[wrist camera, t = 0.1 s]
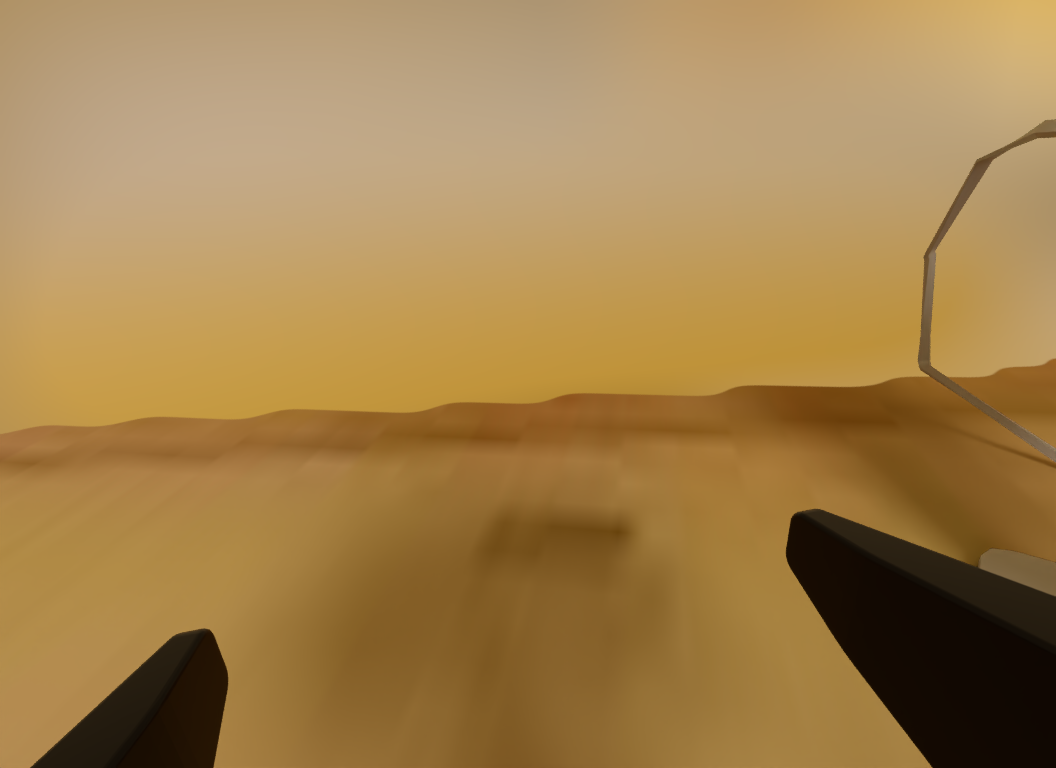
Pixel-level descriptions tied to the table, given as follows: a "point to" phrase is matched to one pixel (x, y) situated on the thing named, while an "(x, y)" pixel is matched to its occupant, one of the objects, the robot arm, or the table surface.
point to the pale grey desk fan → (997, 561)
